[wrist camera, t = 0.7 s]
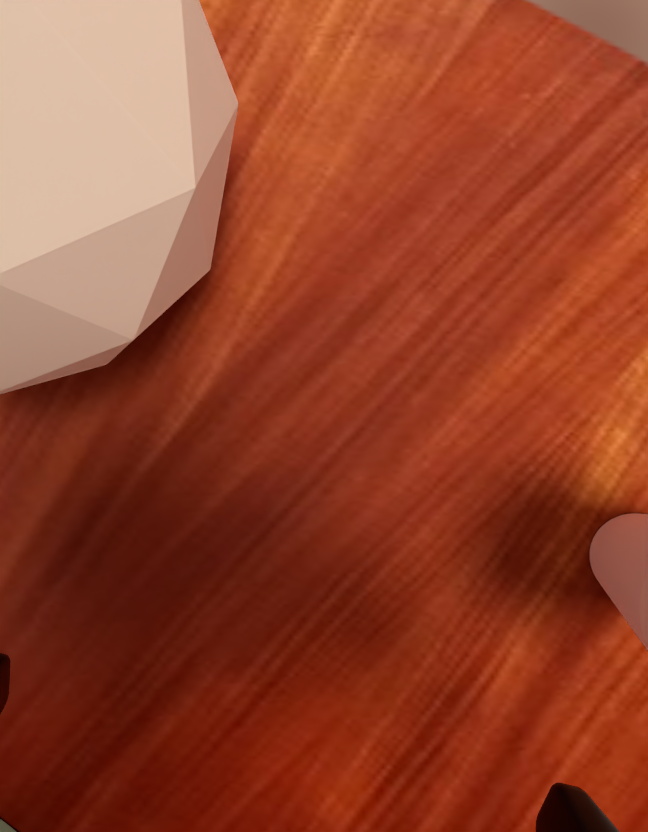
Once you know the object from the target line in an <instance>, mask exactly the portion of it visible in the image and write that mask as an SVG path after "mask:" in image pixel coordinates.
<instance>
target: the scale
mask: <svg viewBox="0 0 648 832" xmlns="http://www.w3.org/2000/svg"><path fill="white" fill-rule="evenodd" d="M0 832H17V831H16V830H14V829H13V828H12V827H10V826H9V825H8V824H7V823H5V822H4V821H3V820H1V819H0Z"/></svg>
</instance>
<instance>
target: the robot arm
mask: <svg viewBox="0 0 648 832" xmlns="http://www.w3.org/2000/svg"><path fill="white" fill-rule="evenodd" d="M9 681H10V658H9V656H8V655H6V654H2V653H0V714H1V712H2V710H3V709H4V706H5V704H6V702H7V699H8V695H9ZM536 832H619V831H618V829H617V828H616V827H615V826H614V825H613V824H612V822H611V821H610V820H609V819H608V818H607V817H606V815H605V814H604V813H603V812H602V811H601V810H600V808H599V807H598V806H597V805H596V804H595V803H594V801H593V800H592V799H591V798H590V797H589V796H588V794H587V793H586V792H585V791H583V790H582V789H581V788H579V787H576V786H572V785H567V784H563V783H555V784H554V785H552V787H551V789H550V791H549V793H548V795H547V797H546V799H545V801H544V803H543V805H542V807H541V809H540V811H539V813H538V816H537V820H536Z"/></svg>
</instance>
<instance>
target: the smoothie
mask: <svg viewBox="0 0 648 832" xmlns="http://www.w3.org/2000/svg"><path fill="white" fill-rule="evenodd" d="M589 557H590V564H591V568H592V571H593V573H594V575H595V577H596V579H597V580H598V582H599V583H600V585H601V586H602V587H603V589H604V590H605V592H606V593H607V594H608V596H609V597H610V599H611V600H612V602H613V603H614V604H615V606H616V607H617V609H618V610H619V611H620V613H621V614H622V616H623V617H624V618H625V620H626V621H627V623H628V624H629V625H630V627H631V628H632V630H633V631H634V632H635V634H636V635H637V637H638V638H639V639H640V641H641V642H642V644H643V645H644V646H645V648H646V649H647V651H648V514H639V513H631V514H624V515H620V516H617V517H615V518H613V519H611V520H609V521H608V522H606V523H605V524H604V525H603V526H602V527H601V528H600V529H599V530H598V531H597V533H596V534H595V536H594V538H593V540H592V543H591V546H590V555H589Z"/></svg>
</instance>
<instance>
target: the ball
mask: <svg viewBox="0 0 648 832" xmlns="http://www.w3.org/2000/svg"><path fill="white" fill-rule="evenodd" d="M237 109H238V101H237V98H236V96H235V93H234V90H233V88H232V85H231V83H230V80H229V77H228V75H227V72H226V70H225V67H224V64H223V62H222V59H221V57H220V54H219V51H218V49H217V46H216V44H215V41H214V38H213V36H212V33H211V31H210V28H209V25H208V23H207V20H206V18H205V15H204V12H203V10H202V7H201V4H200V2H199V0H0V394H3V393H7V392H10V391H14V390H17V389H21V388H25V387H28V386H32V385H35V384H39V383H43V382H46V381H50V380H53V379H57V378H61V377H64V376H68V375H71V374H75V373H79V372H82V371H86V370H89V369H93V368H97V367H100V366H104V365H107V364H108V363H109V362H110V361H111V360H112V359H113V358H115V357H116V356H117V355H118V354H119V353H120V352H121V351H122V350H123V349H124V348H125V347H127V346H128V345H129V344H130V343H131V342H132V341H133V340H134V339H135V338H136V337H137V336H139V335H140V334H141V333H142V332H143V331H144V330H145V329H146V328H147V327H148V326H149V325H151V324H152V323H153V322H154V321H155V320H156V319H157V318H158V317H159V316H160V315H161V314H163V313H164V312H165V311H166V310H167V309H168V308H169V307H170V306H171V305H172V304H173V303H175V302H176V301H177V300H178V299H179V298H180V297H181V296H182V295H183V294H184V293H185V292H187V291H188V290H189V289H190V288H191V287H192V286H193V285H194V284H195V283H196V282H197V281H199V280H200V279H201V278H202V277H203V276H204V275H205V274H206V273H207V272H208V271H209V270H210V268H211V262H212V257H213V251H214V245H215V239H216V233H217V227H218V221H219V215H220V209H221V203H222V198H223V192H224V186H225V180H226V174H227V168H228V162H229V156H230V150H231V145H232V139H233V133H234V127H235V121H236V115H237Z"/></svg>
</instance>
